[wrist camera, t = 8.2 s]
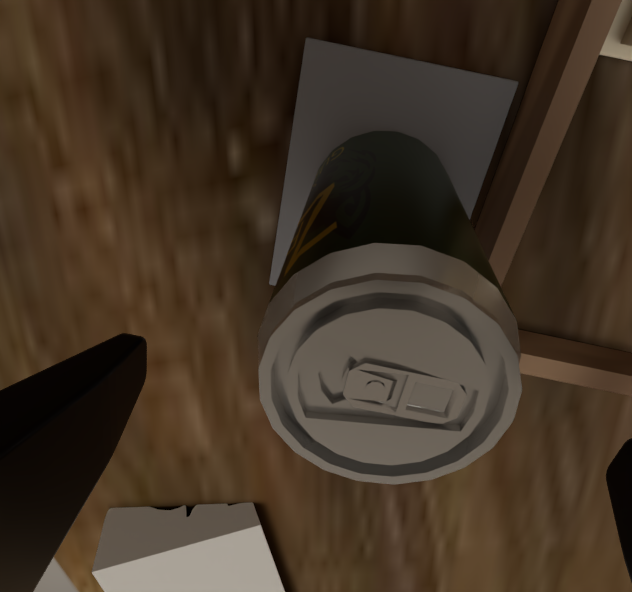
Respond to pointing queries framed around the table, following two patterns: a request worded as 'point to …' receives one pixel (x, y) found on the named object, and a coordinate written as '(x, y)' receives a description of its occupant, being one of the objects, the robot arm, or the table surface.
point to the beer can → (388, 322)
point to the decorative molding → (185, 551)
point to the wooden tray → (530, 176)
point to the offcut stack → (620, 34)
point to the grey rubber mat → (388, 119)
